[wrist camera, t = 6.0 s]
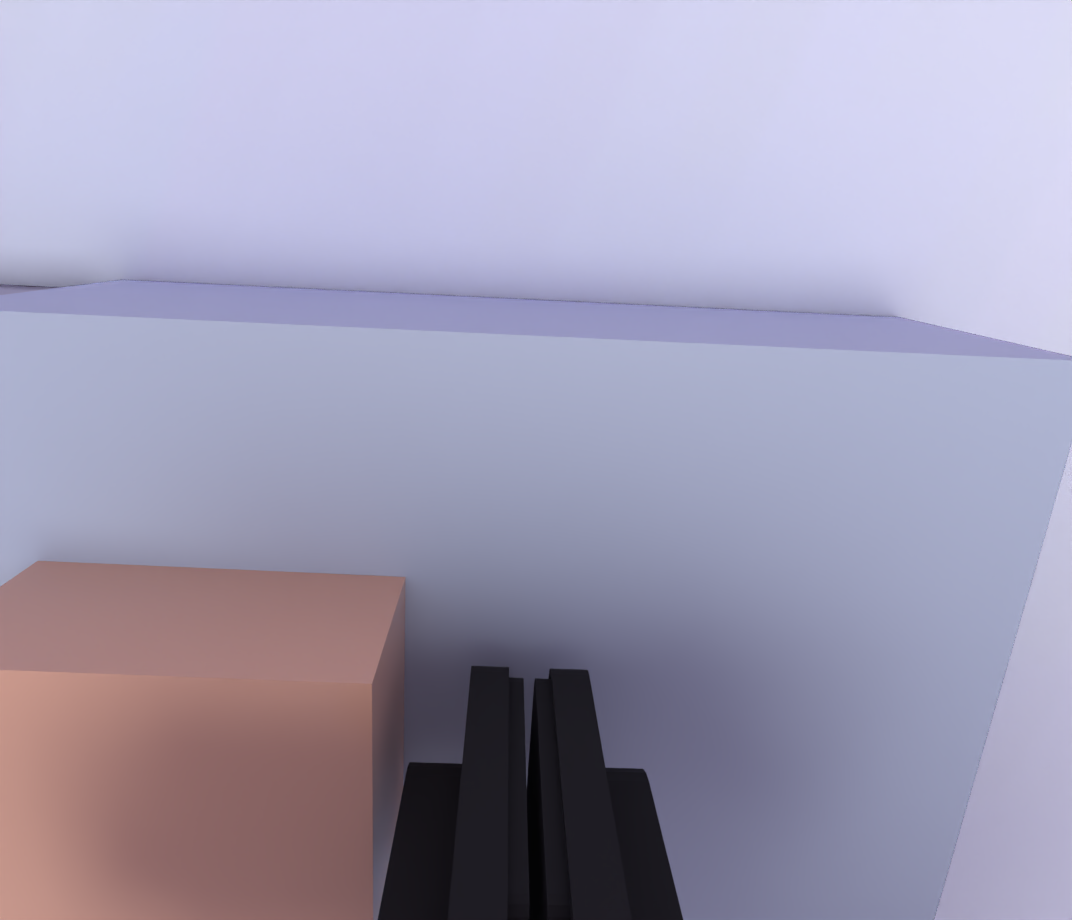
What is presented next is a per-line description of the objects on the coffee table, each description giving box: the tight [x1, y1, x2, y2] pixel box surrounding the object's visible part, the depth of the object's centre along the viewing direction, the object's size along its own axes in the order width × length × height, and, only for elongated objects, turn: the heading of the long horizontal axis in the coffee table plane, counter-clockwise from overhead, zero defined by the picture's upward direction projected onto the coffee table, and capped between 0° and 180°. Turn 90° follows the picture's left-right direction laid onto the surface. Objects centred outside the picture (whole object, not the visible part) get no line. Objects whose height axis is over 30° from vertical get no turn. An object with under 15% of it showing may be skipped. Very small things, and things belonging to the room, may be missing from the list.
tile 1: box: [0, 561, 406, 920], centre depth 10 cm, size 5×5×2 cm
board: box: [0, 280, 1072, 920], centre depth 13 cm, size 15×12×5 cm
